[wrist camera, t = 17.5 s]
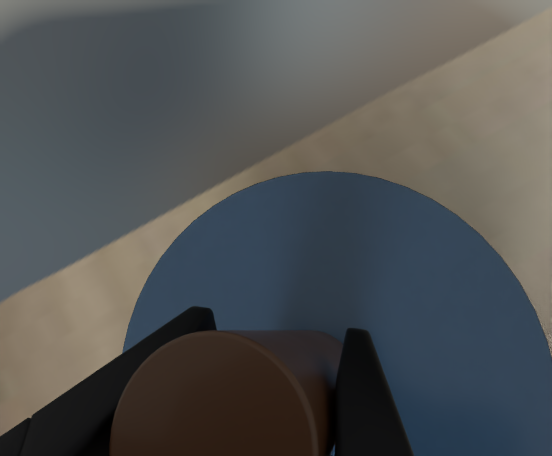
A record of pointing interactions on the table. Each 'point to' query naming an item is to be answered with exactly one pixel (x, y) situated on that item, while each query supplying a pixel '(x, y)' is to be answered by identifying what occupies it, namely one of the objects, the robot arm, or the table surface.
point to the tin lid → (334, 327)
